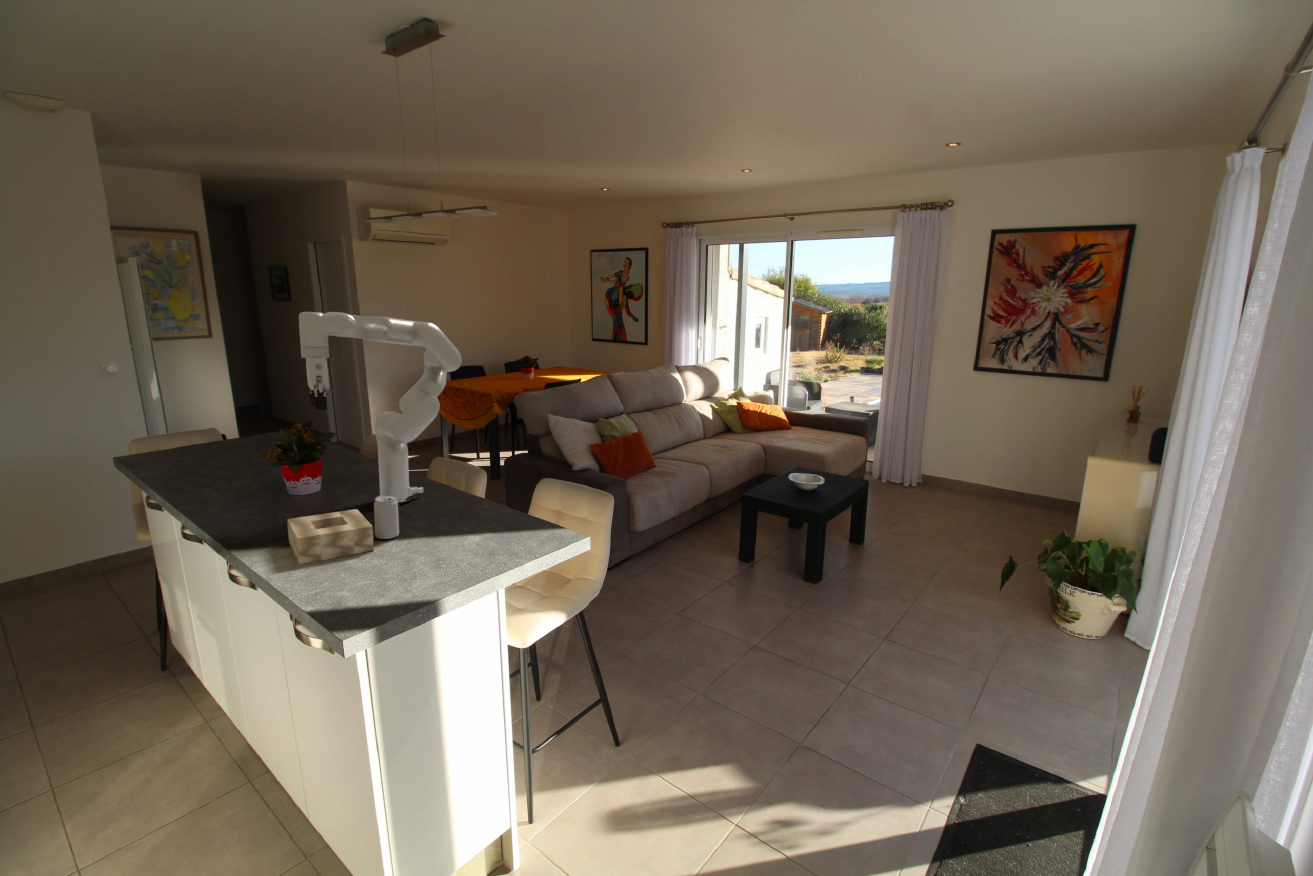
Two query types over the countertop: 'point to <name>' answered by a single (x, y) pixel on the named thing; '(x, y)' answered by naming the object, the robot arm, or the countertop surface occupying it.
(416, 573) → the countertop surface
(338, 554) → the holder block
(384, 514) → the beverage can
